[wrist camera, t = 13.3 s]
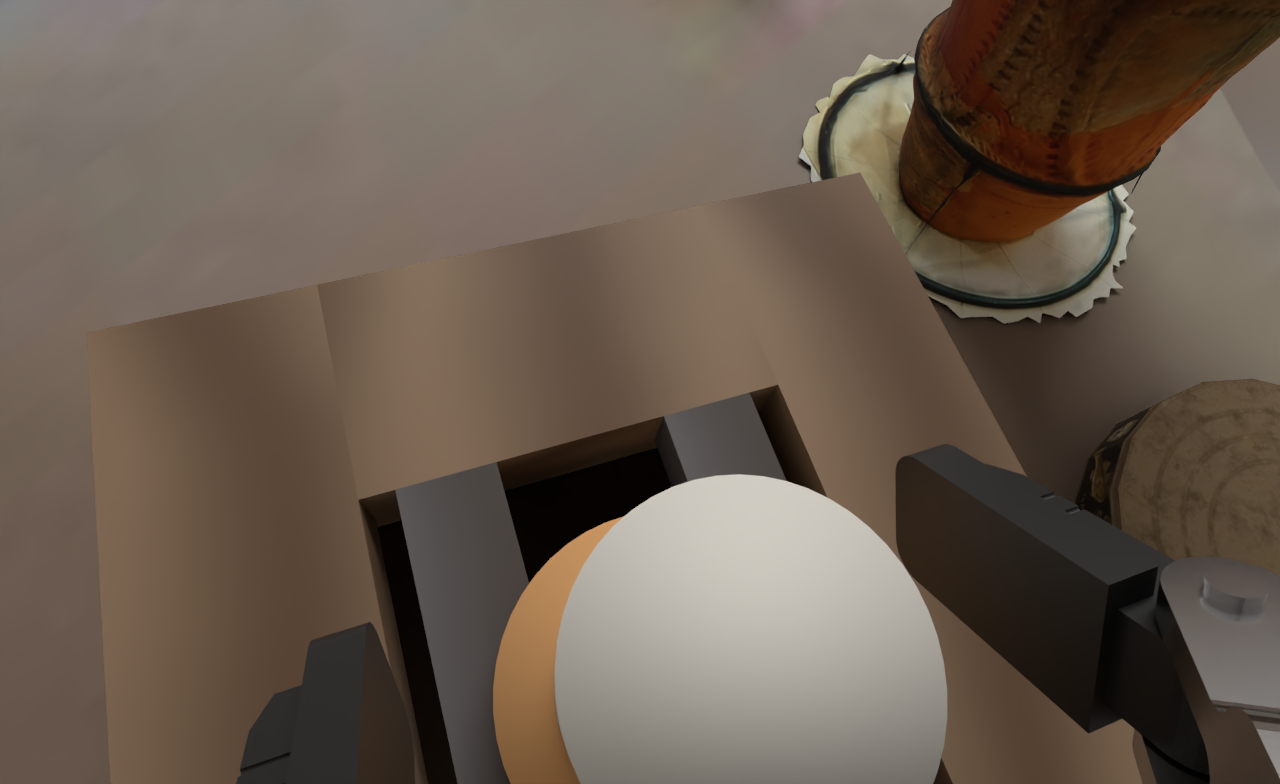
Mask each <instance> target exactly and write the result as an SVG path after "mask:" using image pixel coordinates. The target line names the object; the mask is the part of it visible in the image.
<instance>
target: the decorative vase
mask: <svg viewBox="0 0 1280 784" xmlns="http://www.w3.org/2000/svg"><path fill="white" fill-rule="evenodd" d="M1279 37H1280V0H953V1H952V4H951V6H950V7H949V8H948V9H946V10H945V11H944V12H942V13H941V14H939V15H938V16H936V17H935V18H934V19H933V20H932V21H931V22H930V23H929V25H928V26H927V27H926V28H925V29H924V31H923V33H922V35H921V37H920V39H919V41H918V44H917V48H916V53H915V58H913V57H910V56H907V55H908V54H909V53H908V54H907V55H905V54H904V55H902V56H901V57H900V58H899V59H898V60H881V59H879V58H877V57H875V56H873V55H871V54H869V55H868V56H867V58H866V59H865V60H864V61H863V63H862V64H861V66H860V68H859V69H858V71H857V73H856V74H855V76H851V77H843V78H841V79H840V80H838V81H837V82H835V83H834V85H833V88H832V91H831V95H830V96H829V97H826V98H823V99H820V100H818V102H817V104H816V105H815V106H816V107H817V108H818V110H819V111H820V113H818V114H816V115H814V116H813V117H811V118H810V119H809V122H808V124H807V127H806V129H805V132H804V134H803V140H804V146H803V148H802V150H801V153H800V155H799V158H801V159H802V160H803V161H805V162H806V163H807V164H809V165H810V166H811V181H812V182H817V181H821V180H826V179H831V178H836V177H841V176H846V175H850V174H855V173H861V175H862V177H863V178H864V180H865V182H866V184H867V186H868V187H869V189H870V191H871V193H872V195H873V197H874V198H875V200H876V202H877V204H878V206H879V208H880V209H881V211H882V213H883V215H884V217H885V218H886V220H887V222H888V224H889V226H890V228H891V229H892V231H893V233H894V235H895V237H896V239H897V240H898V242H899V244H900V246H901V248H902V249H903V251H904V253H905V255H906V257H907V259H908V260H909V262H910V264H911V266H912V268H913V270H914V271H915V273H916V275H917V277H918V279H919V280H920V282H921V284H922V286H923V288H924V290H925V291H926V293H927V295H928V296H929V297H931V298H933V299H935V300H937V301H939V302H941V303H943V304H945V305H947V306H948V307H949V308H950V309H951V310H952V311H954V312H955V313H956V314H957V315H958V316H959V317H960V318H967V317H994V318H996V319H997V320H999V321H1000V322H1002V323H1004V324H1005V323H1011V322H1016V321H1019V320H1021V319H1024V318H1026V317H1029V318H1031V319H1033V320H1035V321H1037V322H1039V323H1040V322H1041V317H1042V313H1044V314H1048V315H1052V316H1055V317H1058V318H1060V317H1062V316H1063V315H1064V314H1065V313H1066V312H1067V311H1069V312H1070V313H1072V314H1073V315H1074V316H1076V317H1078V316H1079V315H1081V314H1082V313H1084V312H1086V311H1088V310H1089V309H1091V308H1093V300H1094V299H1096V298H1099V297H1109V293H1110V288H1123V287H1122V286H1121V285H1119V284H1118V283H1117V282H1116V281H1115V279H1114V276H1113V265H1115V266H1118V267H1120V264H1119V261H1121V260H1124V259H1127V257H1126V245H1127V243H1128V241H1129V239H1130V237H1131V235H1132V233H1133V232H1134V230H1135V229H1136V227H1135V226H1133V225H1132V224H1130V223H1129V220H1130V218H1131V216H1132V214H1133V212H1134V211H1133V210H1132V209H1131V208H1130V207H1129V206H1128V205H1127V204H1126V203H1125V202H1124V201H1123V200H1124V199H1125V198H1126V197H1127V196H1128V192H1127V191H1126V190H1125V188H1124V187H1123V186H1122V184H1124V183H1126V182H1129V181H1131V180H1133V179H1135V178H1136V177H1137V176H1139V175H1140V174H1141V175H1140V177H1141V176H1142V174H1143V172H1145V171H1146V170H1147V169H1148V168H1149V166H1150V165H1151V163H1152V162H1153V161H1154V159H1155V158H1156V156H1157V155H1158V154H1159V152H1160V150H1161V145H1162V144H1163V143H1164V142H1165V141H1166V140H1167V139H1168V138H1169V137H1170V136H1171V135H1172V134H1174V133H1175V132H1176V131H1177V130H1178V129H1179V128H1180V127H1181V126H1182V125H1183V124H1184V123H1185V122H1186V121H1187V120H1188V119H1190V118H1191V117H1192V116H1193V115H1194V114H1195V113H1196V112H1198V111H1199V110H1200V109H1201V108H1202V107H1203V106H1204V105H1205V104H1206V103H1207V102H1208V100H1209V99H1210V98H1211V97H1212V95H1213V94H1214V93H1215V92H1216V91H1217V90H1218V89H1219V88H1220V87H1221V86H1222V85H1223V84H1224V83H1225V82H1227V80H1229V79H1230V78H1231V77H1232V76H1233V75H1234V74H1236V73H1237V72H1238V71H1240V70H1241V69H1242V68H1244V67H1245V66H1246V65H1247V64H1248V63H1250V62H1251V61H1252V60H1253V59H1254V58H1255V57H1256V56H1258V55H1259V54H1260V53H1261V52H1262V51H1263V50H1265V49H1266V48H1267V47H1269V46H1270V45H1271V44H1273V43H1274V42H1275V41H1276V40H1277V39H1278V38H1279ZM1140 177H1139V179H1140ZM1139 179H1138V181H1139ZM1138 181H1137V182H1136V184H1135V186H1134V188H1135V187H1136V185H1137V183H1138ZM1134 188H1133V190H1134ZM1132 192H1133V191H1132ZM1131 194H1132V193H1131Z"/></svg>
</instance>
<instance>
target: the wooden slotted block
mask: <svg viewBox="0 0 1280 784" xmlns="http://www.w3.org/2000/svg"><path fill="white" fill-rule="evenodd" d="M86 337H87V355H88V374H89V392H90V411H91V430H92V448H93V467H94V485H95V504H96V523H97V541H98V560H99V578H100V597H101V616H102V634H103V653H104V671H105V690H106V709H107V727H108V746H109V764H110V783H111V784H236V783H237V778H238V777H239V776H241V772H240V766H241V762H242V758H243V754H244V749H245V745H246V741H247V737H248V733H249V730H250V729H251V727H252V726H253V725H254V723H255V722H256V720H257V719H258V717H259V716H260V714H261V713H262V711H263V710H264V708H265V707H266V705H267V704H268V702H269V701H270V699H271V698H272V696H273V695H274V694H275V693H279V692H282V691H285V690H288V689H291V688H294V687H297V686H300V685H302V681H303V675H304V669H305V663H306V657H307V651H308V646H309V643H310V641H311V640H313V639H317V638H320V637H323V636H326V635H329V634H333V633H336V632H339V631H342V630H345V629H349V628H352V627H355V626H358V625H361V624H365V623H368V622H371V623H372V624H373V626H374V627H375V629H376V631H377V634H378V636H379V639H380V642H381V644H382V647H383V650H384V652H385V655H386V658H387V660H388V663H389V666H390V668H391V671H392V674H393V676H394V679H395V682H396V684H397V687H398V690H399V692H400V695H401V698H402V700H403V703H404V706H405V709H406V712H407V716H408V720H409V724H410V729H411V734H412V740H413V748H414V767H415V784H428V780H427V775H426V769H425V764H424V759H423V754H422V749H421V744H420V739H419V734H418V729H417V724H416V719H415V714H414V709H413V704H412V699H411V694H410V689H409V684H408V679H407V674H406V669H405V664H404V659H403V654H402V649H401V644H400V639H399V634H398V629H397V623H396V618H395V613H394V608H393V603H392V598H391V593H390V588H389V583H388V578H387V573H386V568H385V563H384V558H383V553H382V548H381V543H380V538H379V533H378V528H377V527H380V526H383V525H387V524H390V523H394V522H397V521H401V520H402V524H403V529H404V533H405V538H406V543H407V548H408V552H409V557H410V562H411V566H412V571H413V576H414V581H415V585H416V590H417V595H418V599H419V604H420V609H421V614H422V618H423V623H424V628H425V633H426V637H427V642H428V647H429V651H430V656H431V661H432V666H433V670H434V675H435V680H436V684H437V689H438V694H439V699H440V703H441V708H442V713H443V717H444V722H445V727H446V732H447V736H448V741H449V746H450V750H451V755H452V760H453V765H454V769H455V774H456V779H457V783H458V784H511V783H510V781H509V778H508V776H507V773H506V771H505V768H504V766H503V762H502V758H501V755H500V751H499V747H498V743H497V739H496V731H495V723H494V715H493V685H494V676H495V668H496V661H497V657H498V653H499V649H500V645H501V640H502V637H503V634H504V632H505V629H506V626H507V624H508V621H509V619H510V616H511V614H512V612H513V610H514V608H515V606H516V604H517V603H518V601H519V599H520V597H521V595H522V593H523V592H524V590H525V589H526V588H527V586H528V585H529V581H528V577H527V573H526V570H525V566H524V562H523V559H522V555H521V551H520V547H519V544H518V540H517V536H516V533H515V529H514V525H513V521H512V518H511V514H510V510H509V507H508V503H507V499H506V495H505V492H504V491H506V490H510V489H513V488H517V487H520V486H524V485H527V484H531V483H535V482H538V481H542V480H545V479H549V478H552V477H556V476H559V475H563V474H566V473H570V472H573V471H577V470H580V469H584V468H587V467H591V466H594V465H598V464H601V463H605V462H608V461H612V460H615V459H619V458H622V457H626V456H630V455H633V454H637V453H640V452H644V451H647V450H651V449H654V448H658V451H659V453H660V456H661V459H662V462H663V465H664V467H665V470H666V473H667V476H668V479H669V481H670V484H671V487H673V486H676V485H680V484H683V483H686V482H689V481H692V480H695V479H701V478H706V477H711V476H717V475H736V474H742V475H755V476H765V477H770V478H775V479H779V480H784V481H788V482H791V483H794V484H797V485H800V486H803V487H806V488H808V489H810V490H813V491H815V492H817V493H819V494H821V495H823V496H825V497H827V498H829V499H831V500H833V501H834V502H836V503H837V504H839V505H840V506H842V507H844V508H845V509H847V510H848V511H850V512H851V513H852V514H854V515H855V516H856V517H857V518H859V519H860V520H861V521H862V522H864V523H865V524H866V525H867V526H869V527H870V528H871V529H872V530H873V531H874V532H875V533H876V534H877V535H878V536H879V537H880V538H881V539H882V540H883V541H884V542H885V543H886V544H887V545H888V547H889V548H890V549H891V550H892V552H893V553H894V554H895V555H896V557H897V558H898V559H899V560H900V562H901V563H902V564H903V562H902V560H901V558H900V555H899V552H898V548H897V544H896V481H895V473H896V465H897V463H898V461H899V460H900V458H902V457H904V456H907V455H910V454H914V453H917V452H920V451H923V450H926V449H930V448H933V447H936V446H939V445H942V444H950V445H953V446H955V447H957V448H958V449H960V450H962V451H963V452H965V453H967V454H969V455H970V456H972V457H974V458H975V459H977V460H979V461H980V462H982V463H984V464H989V465H992V466H996V467H999V468H1003V469H1006V470H1009V471H1013V472H1016V473H1019V474H1023V475H1025V476H1026V474H1025V472H1024V470H1023V468H1022V466H1021V465H1020V463H1019V461H1018V459H1017V457H1016V456H1015V454H1014V452H1013V450H1012V448H1011V446H1010V445H1009V443H1008V441H1007V439H1006V437H1005V435H1004V434H1003V432H1002V430H1001V428H1000V426H999V425H998V423H997V421H996V419H995V417H994V415H993V414H992V412H991V410H990V408H989V406H988V404H987V403H986V401H985V399H984V397H983V395H982V394H981V392H980V390H979V388H978V386H977V384H976V383H975V381H974V379H973V377H972V375H971V373H970V372H969V370H968V368H967V366H966V364H965V363H964V361H963V359H962V357H961V355H960V353H959V352H958V350H957V348H956V346H955V344H954V342H953V341H952V339H951V337H950V335H949V333H948V332H947V330H946V328H945V326H944V324H943V322H942V321H941V319H940V317H939V315H938V313H937V311H936V310H935V308H934V306H933V304H932V302H931V301H930V299H929V297H928V295H927V293H926V291H925V290H924V288H923V286H922V284H921V282H920V280H919V279H918V277H917V275H916V273H915V271H914V270H913V268H912V266H911V264H910V262H909V260H908V259H907V257H906V255H905V253H904V251H903V249H902V248H901V246H900V244H899V242H898V240H897V239H896V237H895V235H894V233H893V231H892V229H891V228H890V226H889V224H888V222H887V220H886V218H885V217H884V215H883V213H882V211H881V209H880V208H879V206H878V204H877V202H876V200H875V198H874V197H873V195H872V193H871V191H870V189H869V187H868V186H867V184H866V182H865V180H864V178H863V177H862V175H861V173H855V174H850V175H846V176H841V177H836V178H831V179H826V180H821V181H817V182H812V183H807V184H802V185H797V186H792V187H788V188H783V189H778V190H773V191H768V192H763V193H759V194H754V195H749V196H744V197H739V198H734V199H730V200H725V201H720V202H715V203H710V204H705V205H701V206H696V207H691V208H686V209H681V210H676V211H672V212H667V213H662V214H657V215H652V216H648V217H643V218H638V219H633V220H628V221H623V222H619V223H614V224H609V225H604V226H599V227H594V228H590V229H585V230H580V231H575V232H570V233H565V234H561V235H556V236H551V237H546V238H541V239H536V240H532V241H527V242H522V243H517V244H512V245H507V246H503V247H498V248H493V249H488V250H483V251H478V252H474V253H469V254H464V255H459V256H454V257H450V258H445V259H440V260H435V261H430V262H425V263H421V264H416V265H411V266H406V267H401V268H396V269H392V270H387V271H382V272H377V273H372V274H367V275H363V276H358V277H353V278H348V279H343V280H338V281H334V282H329V283H324V284H319V285H314V286H309V287H305V288H300V289H295V290H290V291H285V292H280V293H276V294H271V295H266V296H261V297H256V298H252V299H247V300H242V301H237V302H232V303H227V304H223V305H218V306H213V307H208V308H203V309H198V310H194V311H189V312H184V313H179V314H174V315H169V316H165V317H160V318H155V319H150V320H145V321H140V322H136V323H131V324H126V325H121V326H116V327H111V328H107V329H102V330H97V331H92V332H87V333H86ZM903 566H904V564H903ZM904 567H905V566H904ZM905 569H906V567H905ZM906 570H907V569H906ZM907 572H908V571H907ZM908 574H909V575H910V573H909V572H908ZM910 577H911V578H912V580H913V581H914V583H915V585H916V586H917V588H918V590H919V592H920V594H921V596H922V598H923V600H924V602H925V604H926V607H927V609H928V611H929V613H930V616H931V619H932V622H933V625H934V627H935V630H936V633H937V636H938V640H939V644H940V648H941V652H942V657H943V661H944V667H945V676H946V684H947V725H946V733H945V742H944V748H943V752H942V756H941V760H940V764H939V768H938V772H937V775H936V778H935V780H934V783H933V784H1142V780H1141V777H1140V774H1139V770H1138V767H1137V763H1136V760H1135V757H1134V753H1133V748H1132V741H1133V734H1134V728H1133V727H1132V726H1131V725H1129V724H1128V723H1127V722H1126V721H1125V720H1123V719H1121V720H1118V721H1116V722H1114V723H1112V724H1109V725H1107V726H1105V727H1103V728H1100V729H1098V730H1096V731H1094V732H1091V733H1089V734H1088V733H1087V732H1086V731H1085V730H1084V729H1083V728H1081V727H1080V726H1079V725H1078V724H1077V723H1076V722H1075V721H1074V720H1073V719H1071V718H1070V717H1069V716H1068V715H1067V714H1066V713H1065V712H1064V711H1062V710H1061V709H1060V708H1059V707H1058V706H1057V705H1056V704H1055V703H1053V702H1052V701H1051V700H1050V699H1049V698H1048V697H1047V696H1046V695H1044V694H1043V693H1042V692H1041V691H1040V690H1039V689H1038V688H1037V687H1035V686H1034V685H1033V684H1032V683H1031V682H1030V681H1029V680H1028V679H1026V678H1025V677H1024V676H1023V675H1022V674H1021V673H1020V672H1019V671H1017V670H1016V669H1015V668H1014V667H1013V666H1012V665H1011V664H1010V663H1008V662H1007V661H1006V660H1005V659H1004V658H1003V657H1002V656H1001V655H999V654H998V653H997V652H996V651H995V650H994V649H993V648H992V647H990V646H989V645H988V644H987V643H986V642H985V641H984V640H983V639H981V638H980V637H979V636H978V635H977V634H976V633H975V632H974V631H972V630H971V629H970V628H969V627H968V626H967V625H966V624H965V623H963V622H962V621H961V620H960V619H959V618H958V617H957V616H956V615H954V614H953V613H952V612H951V611H950V610H949V609H948V608H947V607H945V606H944V605H943V604H942V603H941V602H940V601H939V600H938V599H936V598H935V597H934V596H933V595H932V594H931V593H930V592H929V591H927V590H926V589H925V588H924V587H923V586H922V585H921V584H920V583H918V582H917V581H916V580H915V579H914V578H913V577H912V576H911V575H910Z"/></svg>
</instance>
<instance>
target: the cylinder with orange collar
mask: <svg viewBox="0 0 1280 784" xmlns="http://www.w3.org/2000/svg"><path fill="white" fill-rule="evenodd" d="M493 715H494V723H495V731H496V739H497V743H498V747H499V751H500V755H501V758H502V762H503V766H504V768H505V771H506V773H507V776H508V778H509V781H510V783H511V784H933V783H934V780H935V778H936V775H937V772H938V768H939V764H940V760H941V756H942V752H943V748H944V742H945V733H946V725H947V684H946V676H945V667H944V661H943V657H942V652H941V648H940V644H939V640H938V636H937V633H936V630H935V627H934V625H933V622H932V619H931V616H930V613H929V611H928V609H927V607H926V604H925V602H924V600H923V598H922V596H921V594H920V592H919V590H918V588H917V586H916V585H915V583H914V581H913V580H912V578H911V577H910V575H909V574H908V572H907V570H906V569H905V567H904V566H903V564H902V563H901V562H900V560H899V559H898V558H897V557H896V555H895V554H894V553H893V552H892V550H891V549H890V548H889V547H888V545H887V544H886V543H885V542H884V541H883V540H882V539H881V538H880V537H879V536H878V535H877V534H876V533H875V532H874V531H873V530H872V529H871V528H870V527H869V526H867V525H866V524H865V523H864V522H862V521H861V520H860V519H859V518H857V517H856V516H855V515H854V514H852V513H851V512H850V511H848V510H847V509H845V508H844V507H842V506H840V505H839V504H837V503H836V502H834V501H833V500H831V499H829V498H827V497H825V496H823V495H821V494H819V493H817V492H815V491H813V490H810V489H808V488H806V487H803V486H800V485H797V484H794V483H791V482H788V481H784V480H779V479H775V478H770V477H765V476H755V475H742V474H736V475H717V476H711V477H706V478H701V479H695V480H692V481H689V482H686V483H683V484H680V485H676V486H673V487H671V488H669V489H667V490H665V491H663V492H661V493H659V494H656V495H654V496H652V497H651V498H649V499H648V500H646V501H645V502H643V503H641V504H640V505H638V506H637V507H635V508H634V509H632V510H631V511H630V512H629V513H628V514H627V515H625V516H623V517H620V518H617V519H614V520H611V521H608V522H605V523H603V524H601V525H599V526H597V527H595V528H593V529H591V530H589V531H587V532H585V533H583V534H582V535H580V536H579V537H577V538H576V539H574V540H573V541H571V542H569V543H568V544H567V545H565V546H564V547H563V548H562V549H561V550H560V551H558V552H557V553H556V554H555V555H554V556H553V557H551V558H550V559H549V560H548V562H547V563H546V564H545V565H544V566H543V567H542V568H541V569H540V570H539V572H538V573H537V574H536V575H535V576H534V578H533V579H532V580H531V582H530V583H529V585H528V586H527V588H526V589H525V590H524V592H523V593H522V595H521V597H520V599H519V601H518V603H517V604H516V606H515V608H514V610H513V612H512V614H511V616H510V619H509V621H508V624H507V626H506V629H505V632H504V634H503V637H502V640H501V645H500V649H499V653H498V657H497V661H496V668H495V676H494V685H493Z"/></svg>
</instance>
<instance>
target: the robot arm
mask: <svg viewBox="0 0 1280 784" xmlns="http://www.w3.org/2000/svg"><path fill="white" fill-rule="evenodd" d="M895 481H896V544H897V548H898V552H899V555H900V558H901V560H902V562H903V564H904V566H905V567H906V569H907V571H908V572H909V573H910V575H911V576H912V577H913V578H914V579H915V580H916V581H917V582H918V583H920V584H921V585H922V586H923V587H924V588H925V589H926V590H927V591H929V592H930V593H931V594H932V595H933V596H934V597H935V598H936V599H938V600H939V601H940V602H941V603H942V604H943V605H944V606H945V607H947V608H948V609H949V610H950V611H951V612H952V613H953V614H954V615H956V616H957V617H958V618H959V619H960V620H961V621H962V622H963V623H965V624H966V625H967V626H968V627H969V628H970V629H971V630H972V631H974V632H975V633H976V634H977V635H978V636H979V637H980V638H981V639H983V640H984V641H985V642H986V643H987V644H988V645H989V646H990V647H992V648H993V649H994V650H995V651H996V652H997V653H998V654H999V655H1001V656H1002V657H1003V658H1004V659H1005V660H1006V661H1007V662H1008V663H1010V664H1011V665H1012V666H1013V667H1014V668H1015V669H1016V670H1017V671H1019V672H1020V673H1021V674H1022V675H1023V676H1024V677H1025V678H1026V679H1028V680H1029V681H1030V682H1031V683H1032V684H1033V685H1034V686H1035V687H1037V688H1038V689H1039V690H1040V691H1041V692H1042V693H1043V694H1044V695H1046V696H1047V697H1048V698H1049V699H1050V700H1051V701H1052V702H1053V703H1055V704H1056V705H1057V706H1058V707H1059V708H1060V709H1061V710H1062V711H1064V712H1065V713H1066V714H1067V715H1068V716H1069V717H1070V718H1071V719H1073V720H1074V721H1075V722H1076V723H1077V724H1078V725H1079V726H1080V727H1081V728H1083V729H1084V730H1085V731H1086V732H1087V733H1088V734H1089V733H1091V732H1094V731H1096V730H1098V729H1100V728H1103V727H1105V726H1107V725H1109V724H1112V723H1114V722H1116V721H1118V720H1121V719H1123V720H1125V721H1126V722H1127V723H1128V724H1129V725H1131V726H1132V727H1133V728H1134V734H1133V741H1132V748H1133V753H1134V757H1135V760H1136V763H1137V767H1138V770H1139V774H1140V777H1141V780H1142V784H1280V576H1278V575H1277V574H1275V573H1272V572H1270V571H1268V570H1266V569H1263V568H1260V567H1258V566H1255V565H1252V564H1248V563H1245V562H1241V561H1237V560H1232V559H1227V558H1219V557H1202V556H1201V557H1189V558H1184V559H1180V560H1177V561H1175V560H1173V559H1171V558H1169V557H1168V556H1166V555H1164V554H1162V553H1161V552H1159V551H1157V550H1155V549H1154V548H1152V547H1150V546H1148V545H1146V544H1145V543H1143V542H1141V541H1139V540H1138V539H1136V538H1134V537H1132V536H1131V535H1129V534H1127V533H1125V532H1124V531H1122V530H1120V529H1118V528H1117V527H1115V526H1113V525H1111V524H1109V523H1108V522H1106V521H1104V520H1102V519H1101V518H1099V517H1097V516H1095V515H1094V514H1092V513H1090V512H1088V511H1087V510H1085V509H1084V510H1082V511H1081V510H1080V509H1079V507H1078V505H1076V504H1074V503H1072V502H1071V501H1069V500H1067V499H1065V498H1064V497H1062V496H1060V495H1058V496H1055V495H1054V492H1053V491H1051V490H1050V489H1048V488H1046V487H1044V486H1043V485H1041V484H1039V483H1037V482H1036V481H1034V480H1032V479H1030V478H1028V477H1027V476H1025V475H1023V474H1019V473H1016V472H1013V471H1009V470H1006V469H1003V468H999V467H996V466H992V465H989V464H984V463H982V462H980V461H979V460H977V459H975V458H974V457H972V456H970V455H969V454H967V453H965V452H963V451H962V450H960V449H958V448H957V447H955V446H953V445H950V444H942V445H939V446H936V447H933V448H930V449H926V450H923V451H920V452H917V453H914V454H910V455H907V456H904V457H902V458H900V460H899V461H898V463H897V465H896V473H895ZM240 772H241V776H239V777H238V778H237V783H236V784H415V767H414V748H413V740H412V734H411V729H410V724H409V720H408V716H407V712H406V709H405V706H404V703H403V700H402V698H401V695H400V692H399V690H398V687H397V684H396V682H395V679H394V676H393V674H392V671H391V668H390V666H389V663H388V660H387V658H386V655H385V652H384V650H383V647H382V644H381V642H380V639H379V636H378V634H377V631H376V629H375V627H374V626H373V624H372V623H371V622H368V623H365V624H361V625H358V626H355V627H352V628H349V629H345V630H342V631H339V632H336V633H333V634H329V635H326V636H323V637H320V638H317V639H313V640H311V641H310V643H309V646H308V651H307V657H306V663H305V669H304V675H303V681H302V685H300V686H297V687H294V688H291V689H288V690H285V691H282V692H279V693H275V694H274V695H273V696H272V698H271V699H270V701H269V702H268V704H267V705H266V707H265V708H264V710H263V711H262V713H261V714H260V716H259V717H258V719H257V720H256V722H255V723H254V725H253V726H252V727H251V729H250V730H249V733H248V737H247V741H246V745H245V749H244V754H243V758H242V762H241V766H240Z"/></svg>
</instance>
